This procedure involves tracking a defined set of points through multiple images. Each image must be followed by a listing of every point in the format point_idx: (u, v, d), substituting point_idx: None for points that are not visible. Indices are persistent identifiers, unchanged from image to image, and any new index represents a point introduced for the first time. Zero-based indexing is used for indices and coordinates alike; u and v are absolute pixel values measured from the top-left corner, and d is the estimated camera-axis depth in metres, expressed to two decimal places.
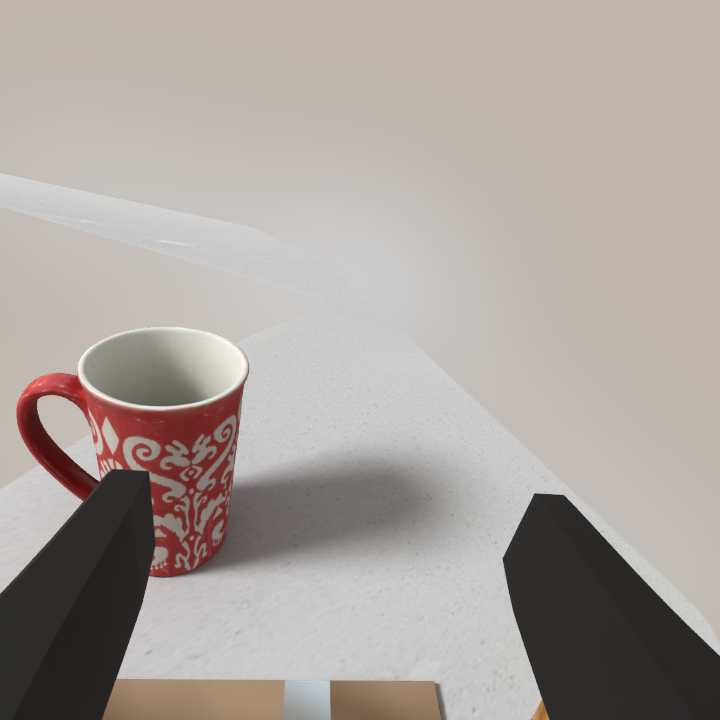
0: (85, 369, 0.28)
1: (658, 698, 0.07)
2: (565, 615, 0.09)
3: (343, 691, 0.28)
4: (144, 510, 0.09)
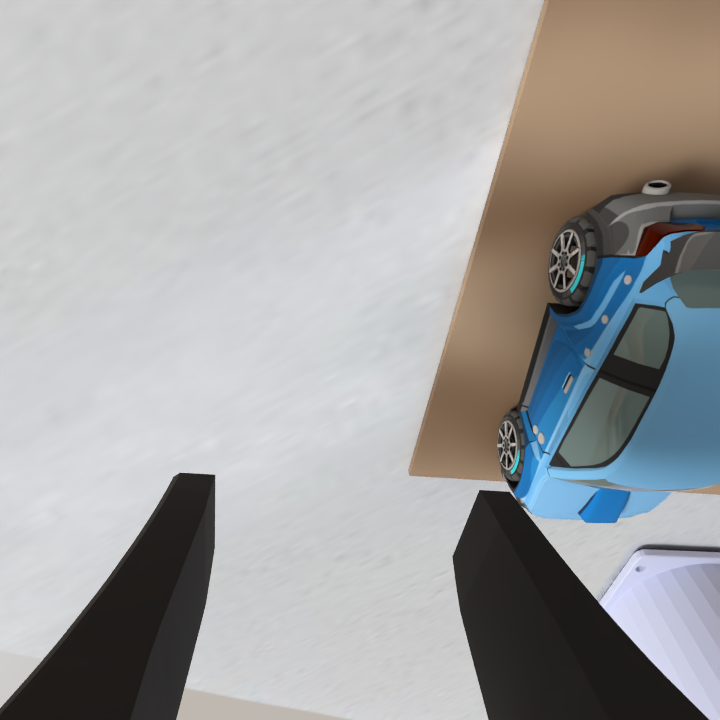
0: None
1: (579, 698, 0.07)
2: (503, 613, 0.09)
3: None
4: (211, 513, 0.09)
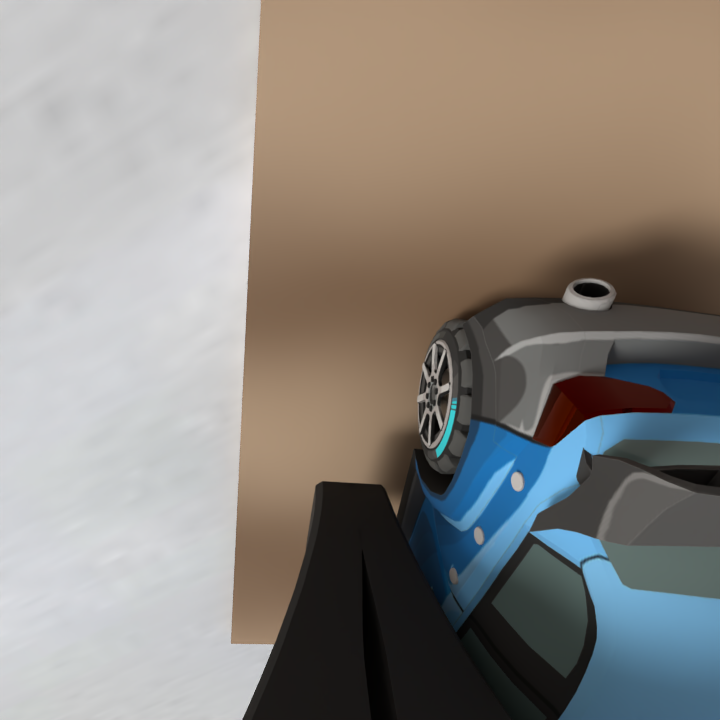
0: None
1: (386, 698, 0.06)
2: None
3: None
4: None
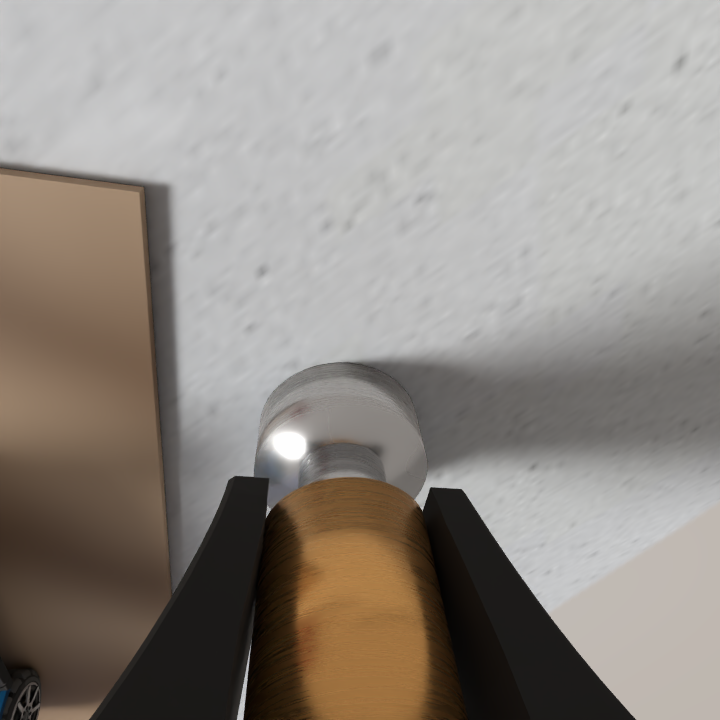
0: None
1: (508, 698, 0.06)
2: (447, 612, 0.08)
3: None
4: None
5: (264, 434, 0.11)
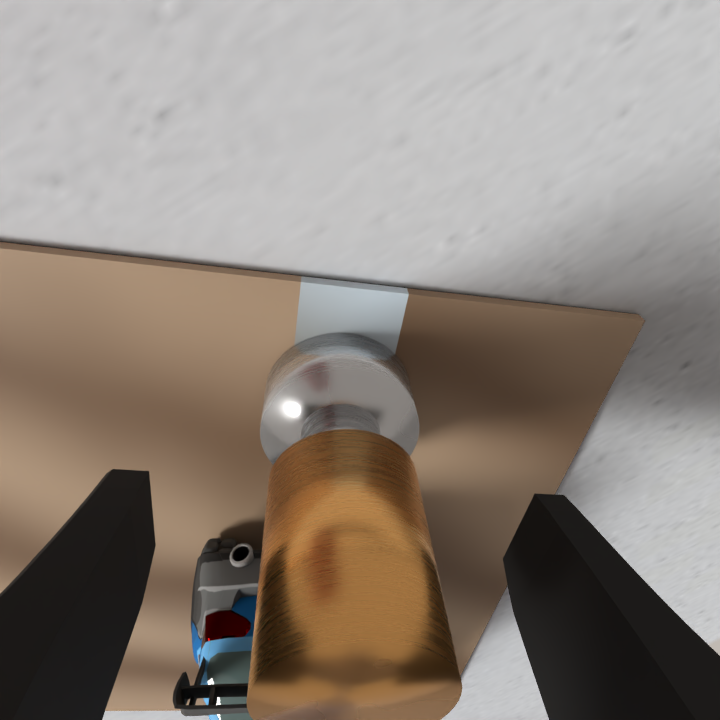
0: None
1: (658, 698, 0.07)
2: (565, 615, 0.09)
3: (433, 319, 0.12)
4: (144, 510, 0.09)
5: (269, 396, 0.12)
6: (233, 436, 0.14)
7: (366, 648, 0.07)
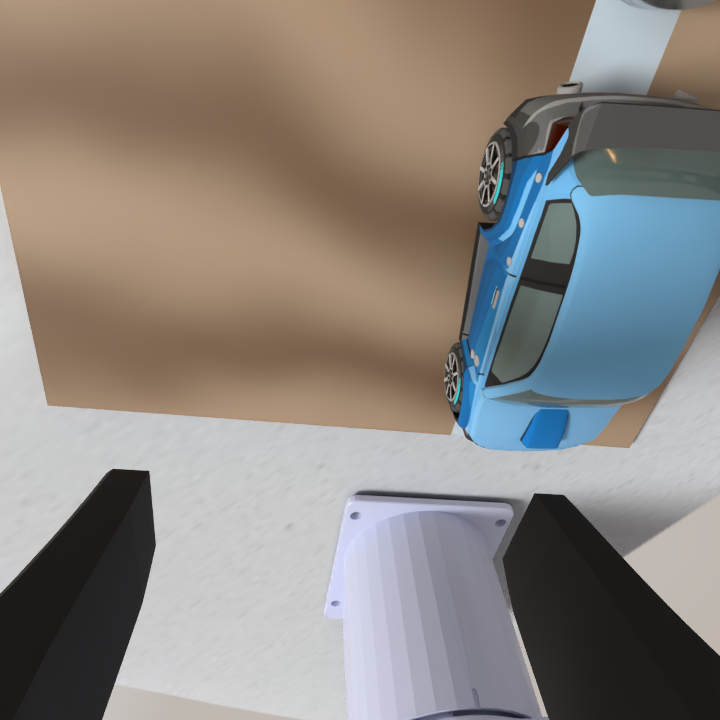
0: None
1: (658, 698, 0.07)
2: (565, 615, 0.09)
3: None
4: (144, 510, 0.09)
5: None
6: None
7: None
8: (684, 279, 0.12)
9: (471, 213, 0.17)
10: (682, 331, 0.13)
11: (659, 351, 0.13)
